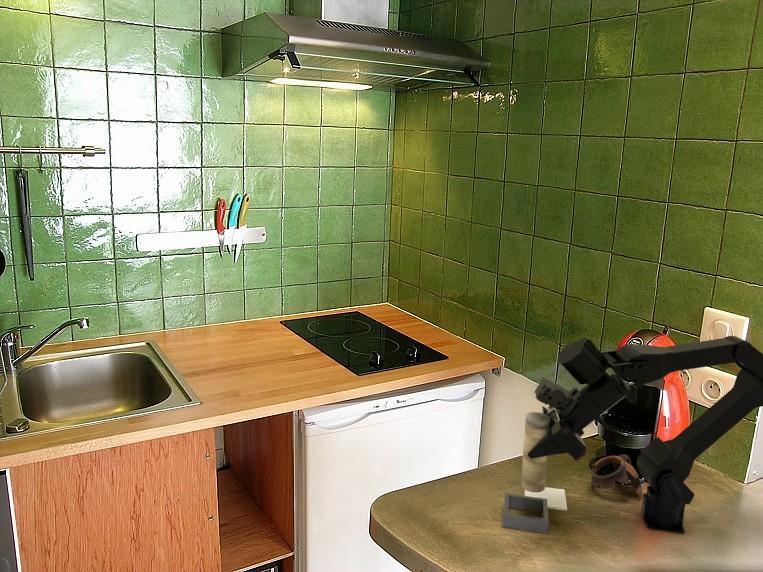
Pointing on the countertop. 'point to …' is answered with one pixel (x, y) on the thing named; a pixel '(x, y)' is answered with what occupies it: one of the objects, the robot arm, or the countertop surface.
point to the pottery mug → (617, 474)
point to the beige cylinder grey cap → (534, 433)
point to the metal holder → (526, 521)
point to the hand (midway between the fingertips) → (527, 450)
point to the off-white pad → (551, 497)
